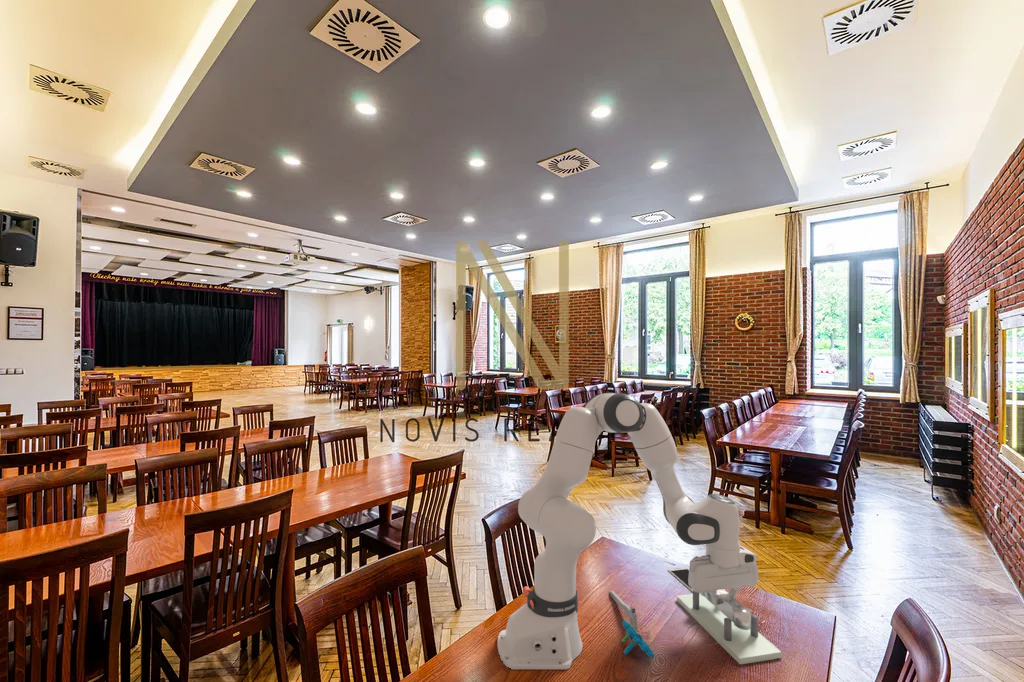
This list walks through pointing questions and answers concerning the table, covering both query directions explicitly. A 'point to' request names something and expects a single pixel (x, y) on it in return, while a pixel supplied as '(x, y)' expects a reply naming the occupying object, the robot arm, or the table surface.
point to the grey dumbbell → (732, 609)
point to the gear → (635, 640)
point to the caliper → (626, 609)
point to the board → (739, 636)
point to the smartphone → (681, 575)
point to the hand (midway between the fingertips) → (723, 602)
